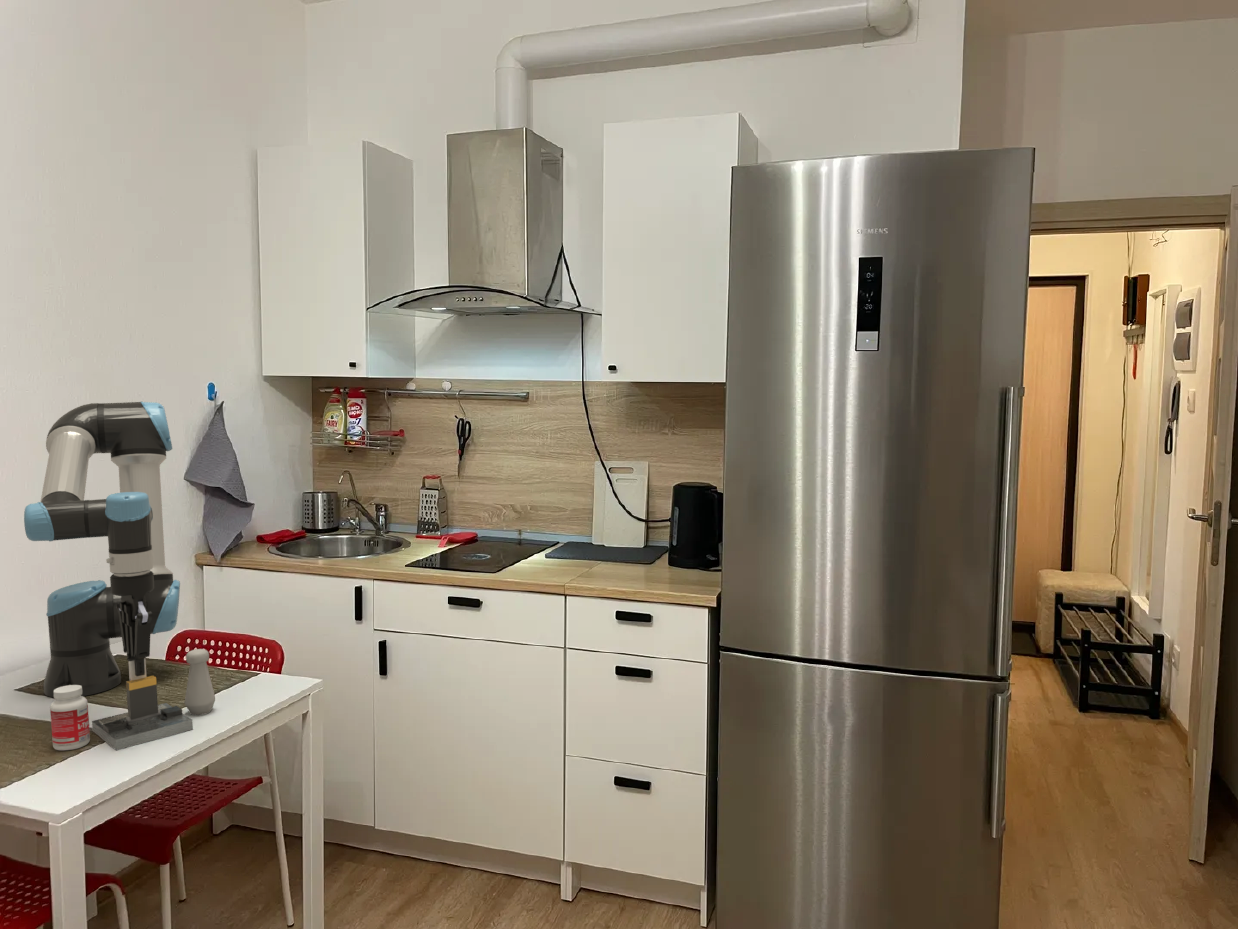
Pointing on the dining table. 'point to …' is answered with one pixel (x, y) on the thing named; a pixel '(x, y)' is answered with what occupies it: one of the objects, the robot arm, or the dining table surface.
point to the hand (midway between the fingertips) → (138, 690)
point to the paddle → (142, 699)
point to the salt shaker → (199, 683)
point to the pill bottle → (69, 718)
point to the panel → (141, 727)
